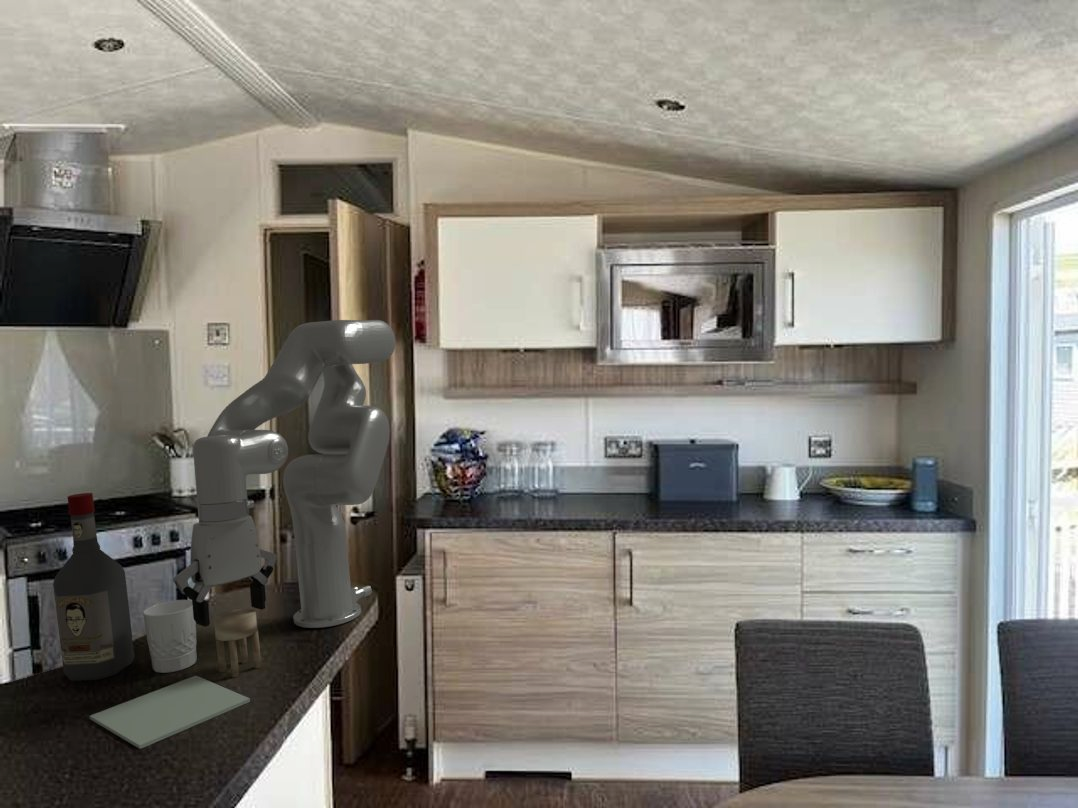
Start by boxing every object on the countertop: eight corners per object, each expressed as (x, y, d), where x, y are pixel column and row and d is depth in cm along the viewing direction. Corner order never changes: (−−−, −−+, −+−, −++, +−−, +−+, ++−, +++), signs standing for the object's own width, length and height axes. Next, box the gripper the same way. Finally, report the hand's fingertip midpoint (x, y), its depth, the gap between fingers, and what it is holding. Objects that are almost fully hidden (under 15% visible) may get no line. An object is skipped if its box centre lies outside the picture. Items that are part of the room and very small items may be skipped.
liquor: (91, 660, 139) (71, 491, 137) (141, 657, 139) (122, 488, 136) (56, 682, 130) (34, 502, 128) (110, 680, 130) (89, 499, 127)
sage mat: (196, 678, 128) (195, 675, 128) (250, 701, 118) (249, 698, 118) (90, 719, 115) (89, 715, 115) (140, 749, 105) (139, 745, 105)
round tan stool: (247, 658, 135) (242, 606, 134) (268, 665, 131) (263, 612, 130) (211, 671, 130) (206, 618, 129) (232, 680, 126) (226, 625, 125)
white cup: (180, 675, 130) (174, 615, 129) (138, 674, 131) (132, 615, 130) (210, 656, 137) (204, 599, 136) (169, 655, 139) (163, 599, 138)
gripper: (259, 501, 137) (266, 599, 138) (158, 520, 124) (167, 628, 125) (283, 504, 132) (291, 605, 133) (182, 523, 119) (191, 636, 120)
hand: (231, 616), depth 129 cm, fingers open, 9 cm apart
